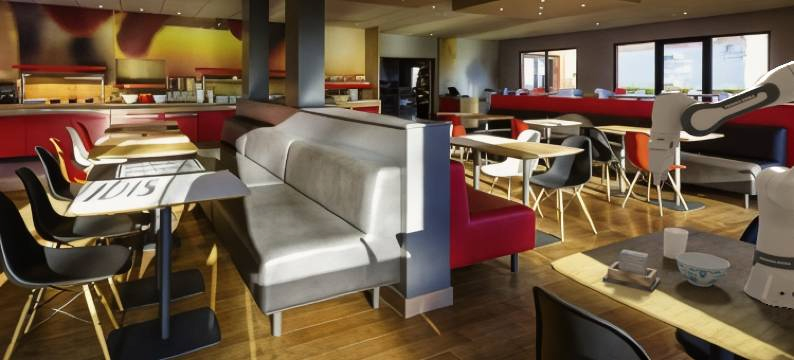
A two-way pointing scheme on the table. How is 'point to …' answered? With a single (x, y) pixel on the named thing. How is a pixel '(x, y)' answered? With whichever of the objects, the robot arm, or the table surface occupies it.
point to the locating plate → (632, 278)
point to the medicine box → (633, 262)
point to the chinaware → (702, 268)
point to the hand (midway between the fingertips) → (660, 182)
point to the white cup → (674, 242)
